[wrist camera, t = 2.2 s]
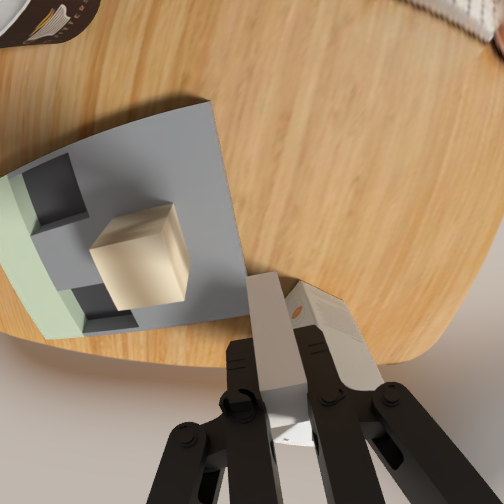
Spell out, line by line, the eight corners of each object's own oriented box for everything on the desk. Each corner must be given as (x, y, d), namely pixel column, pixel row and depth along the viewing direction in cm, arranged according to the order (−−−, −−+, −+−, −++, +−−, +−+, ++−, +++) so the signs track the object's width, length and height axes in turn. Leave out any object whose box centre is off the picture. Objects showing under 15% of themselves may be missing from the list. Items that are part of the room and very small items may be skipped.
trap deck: (210, 100, 20) (208, 101, 18) (252, 296, 29) (254, 313, 27) (-14, 185, 21) (-29, 194, 18) (53, 325, 30) (46, 339, 27)
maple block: (173, 202, 21) (160, 233, 17) (191, 261, 24) (184, 300, 19) (113, 217, 21) (88, 249, 17) (134, 271, 24) (118, 310, 19)
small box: (301, 349, 34) (327, 449, 22) (255, 332, 32) (268, 443, 20) (347, 300, 30) (395, 402, 19) (300, 277, 28) (339, 391, 17)
